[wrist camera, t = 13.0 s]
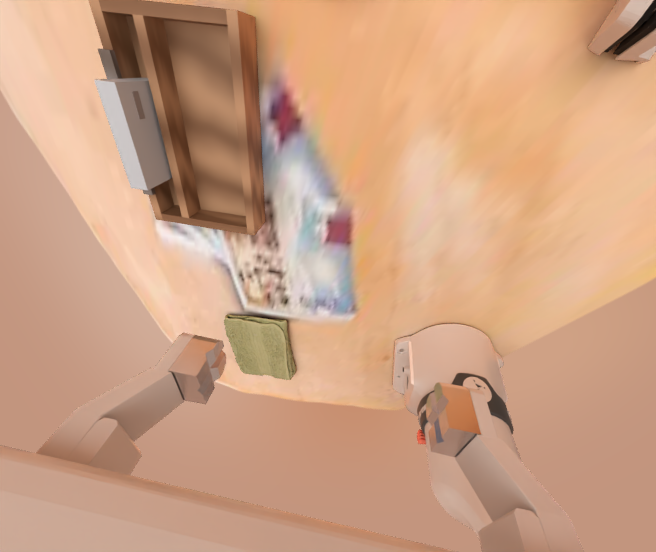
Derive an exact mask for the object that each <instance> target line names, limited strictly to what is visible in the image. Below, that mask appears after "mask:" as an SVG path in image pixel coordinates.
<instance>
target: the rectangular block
mask: <svg viewBox="0 0 656 552" xmlns="http://www.w3.org/2000/svg"><path fill="white" fill-rule="evenodd" d="M94 81H95V84H96V87H97V90H98V93H99V95H100V98H101V101H102V104H103V107H104V110H105V113H106V116H107V119H108V122H109V125H110V128H111V131H112V133H113V136H114V139H115V142H116V145H117V148H118V151H119V154H120V157H121V160H122V163H123V166H124V169H125V171H126V174H127V177H128V180H129V183H130V186H131V188H135V189H141V190H150V189H152V188H154V187H156V186H157V185H159V184H161V183H163V182H165V181H167V180H169V179H171V178H172V174H171V170H170V166H169V162H168V158H167V154H166V149H165V145H164V141H163V137H162V133H161V129H160V125H159V121H158V117H157V113H156V109H155V105H154V101H153V96H152V92H151V88H150V84H149V80H148V78H124V79H100V80H94Z"/></svg>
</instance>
